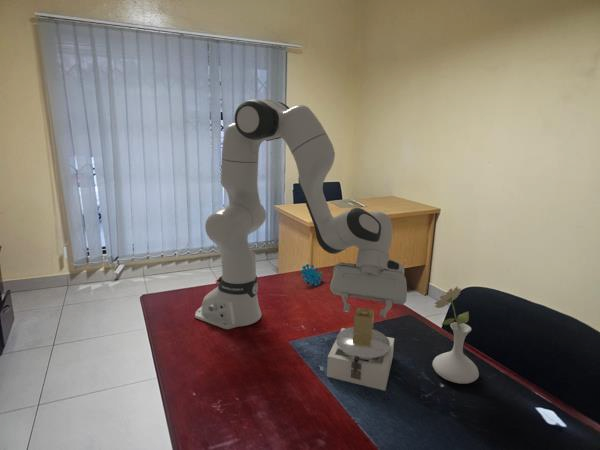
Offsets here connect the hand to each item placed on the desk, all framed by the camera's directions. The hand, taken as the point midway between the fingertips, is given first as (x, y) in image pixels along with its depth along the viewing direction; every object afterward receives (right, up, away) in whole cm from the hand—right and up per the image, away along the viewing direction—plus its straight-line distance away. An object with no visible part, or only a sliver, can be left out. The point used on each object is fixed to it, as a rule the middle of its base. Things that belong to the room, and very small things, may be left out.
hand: (364, 314), depth 97 cm
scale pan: (0, -13, +3) cm, 13 cm away
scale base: (0, -15, +4) cm, 16 cm away
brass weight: (0, -8, +3) cm, 8 cm away
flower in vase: (+23, -16, +2) cm, 29 cm away
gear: (-12, -1, +59) cm, 60 cm away
